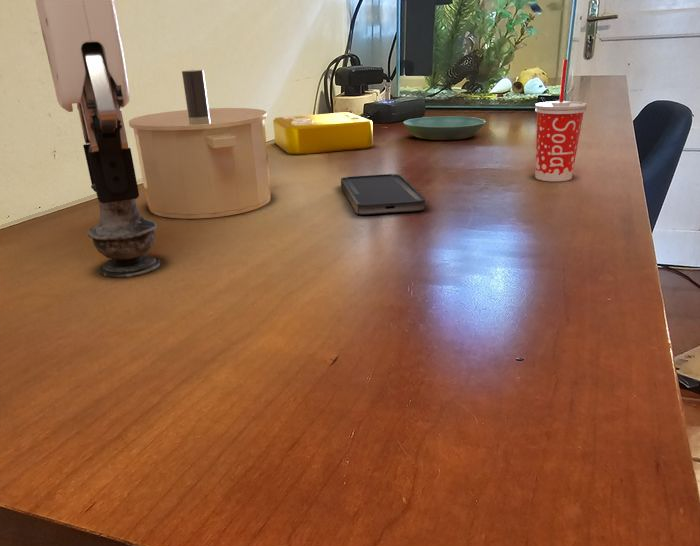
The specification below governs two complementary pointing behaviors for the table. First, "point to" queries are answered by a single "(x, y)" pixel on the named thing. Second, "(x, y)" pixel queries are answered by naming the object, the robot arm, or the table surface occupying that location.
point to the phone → (381, 194)
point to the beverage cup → (557, 136)
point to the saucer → (444, 127)
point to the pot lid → (197, 111)
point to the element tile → (323, 133)
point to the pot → (204, 170)
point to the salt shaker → (124, 239)
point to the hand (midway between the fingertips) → (115, 192)
